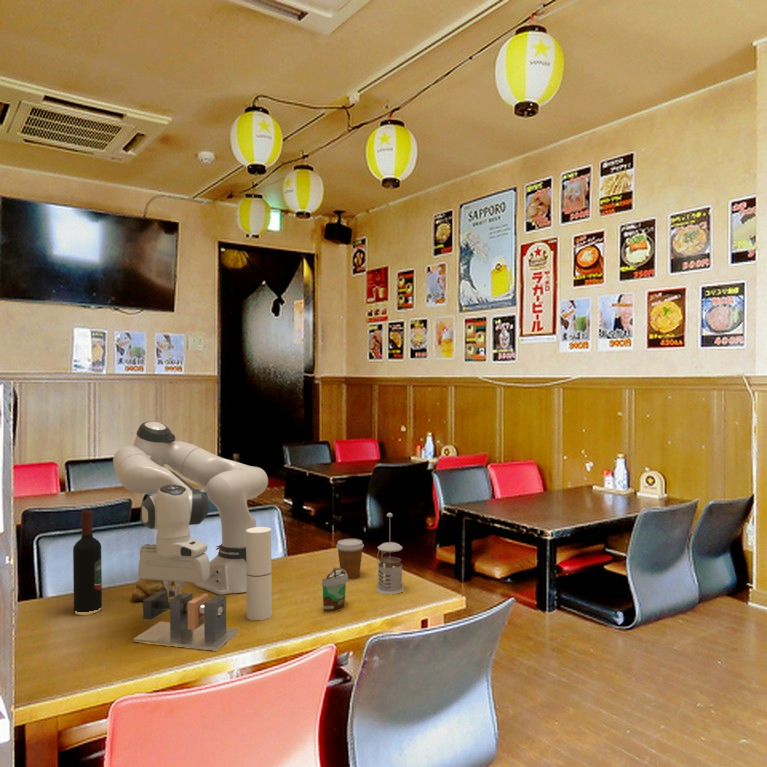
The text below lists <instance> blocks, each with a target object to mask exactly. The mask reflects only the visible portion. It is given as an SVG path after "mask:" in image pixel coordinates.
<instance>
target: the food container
mask: <svg viewBox="0 0 767 767" xmlns="http://www.w3.org/2000/svg"><path fill="white" fill-rule="evenodd" d="M321 579H322V580H321V587H322V604H323V605H322V606H323V612H325V611H326V612H327V613H328V612H336V610H337V611H339V609H340V610H342V609H343V608H344V607H345V606H344V605H345V604H346V587H347V586H346V585H347V582H348V581H349V579H348V575H347V573H346V571H345V570H344V569H341V568H340V567H332V571H331V572H329V574H328V575H327V576H326V577H325V578H321ZM341 608H342V609H341Z"/></svg>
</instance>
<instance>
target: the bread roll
mask: <svg viewBox="0 0 767 767" xmlns="http://www.w3.org/2000/svg"><path fill="white" fill-rule="evenodd" d="M171 585H172V587H173V586H174V585H175V582H174V581H172V582H171ZM161 590H162V591H167V590H166V588H165V586H164V585H163V580H151V579H141V578H140V577H139V579H138V580H137V581H136V583H135V588H134V589H133V591H132V592H131V598H132V600H133V601H135V600H136V601H137V602H139V601H140V602H143V600H145V599H146V598H148V597H150V596H152V595H153V594H155V593H157V592H159V591H161Z"/></svg>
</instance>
